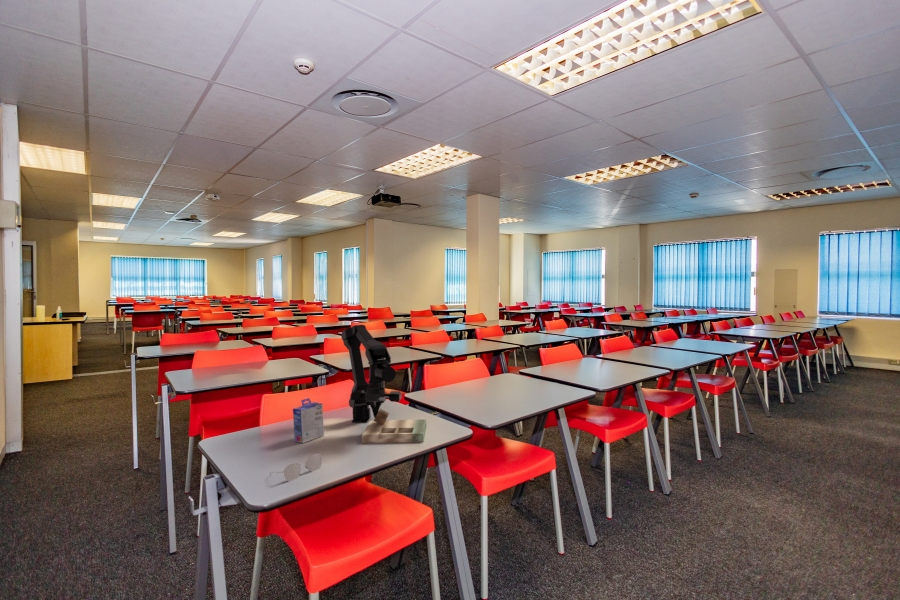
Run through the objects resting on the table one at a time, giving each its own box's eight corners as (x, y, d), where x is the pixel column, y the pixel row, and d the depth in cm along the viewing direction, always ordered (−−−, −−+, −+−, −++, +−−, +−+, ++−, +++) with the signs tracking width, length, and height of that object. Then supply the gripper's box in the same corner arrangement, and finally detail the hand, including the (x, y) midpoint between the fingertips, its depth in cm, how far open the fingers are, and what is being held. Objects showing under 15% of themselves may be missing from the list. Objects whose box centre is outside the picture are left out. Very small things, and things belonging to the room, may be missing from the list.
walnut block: (373, 420, 161) (378, 411, 161) (375, 417, 165) (380, 408, 165) (383, 425, 161) (387, 416, 161) (384, 422, 165) (389, 413, 165)
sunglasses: (284, 485, 121) (281, 467, 121) (268, 482, 126) (266, 465, 126) (324, 467, 132) (322, 451, 132) (308, 466, 137) (306, 450, 137)
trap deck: (362, 443, 151) (361, 434, 151) (370, 428, 167) (370, 420, 167) (423, 441, 151) (423, 433, 151) (426, 426, 167) (426, 419, 167)
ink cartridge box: (315, 432, 163) (314, 395, 163) (324, 435, 160) (323, 397, 159) (293, 440, 155) (291, 401, 154) (302, 443, 152) (301, 403, 151)
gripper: (346, 380, 155) (345, 423, 155) (397, 382, 154) (396, 425, 154) (354, 375, 166) (353, 414, 166) (402, 376, 165) (400, 416, 165)
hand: (375, 417), depth 162 cm, fingers closed, pressing on walnut block
